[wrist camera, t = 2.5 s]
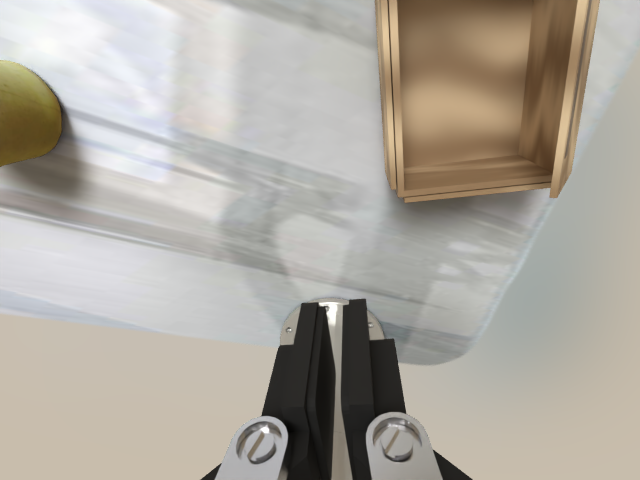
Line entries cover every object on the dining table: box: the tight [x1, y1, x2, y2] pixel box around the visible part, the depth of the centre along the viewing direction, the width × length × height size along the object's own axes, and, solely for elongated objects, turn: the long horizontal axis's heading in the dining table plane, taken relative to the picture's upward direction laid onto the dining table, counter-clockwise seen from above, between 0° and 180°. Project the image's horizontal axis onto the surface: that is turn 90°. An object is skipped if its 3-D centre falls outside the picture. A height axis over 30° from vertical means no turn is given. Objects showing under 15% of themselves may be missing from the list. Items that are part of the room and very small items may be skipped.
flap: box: [550, 0, 600, 198], centre depth 21 cm, size 15×1×6 cm
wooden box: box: [375, 0, 578, 203], centre depth 27 cm, size 17×13×7 cm
